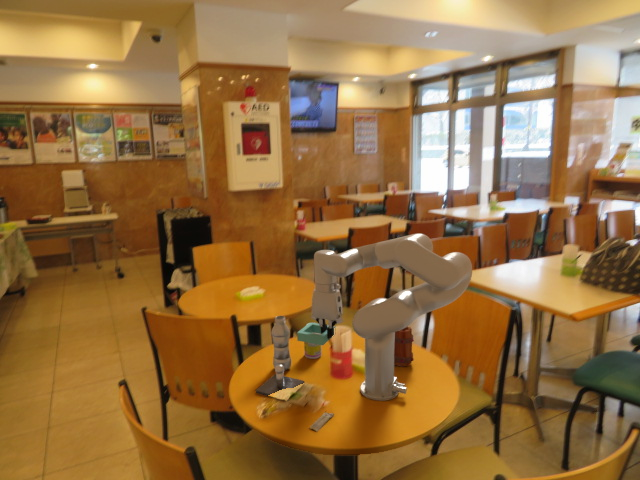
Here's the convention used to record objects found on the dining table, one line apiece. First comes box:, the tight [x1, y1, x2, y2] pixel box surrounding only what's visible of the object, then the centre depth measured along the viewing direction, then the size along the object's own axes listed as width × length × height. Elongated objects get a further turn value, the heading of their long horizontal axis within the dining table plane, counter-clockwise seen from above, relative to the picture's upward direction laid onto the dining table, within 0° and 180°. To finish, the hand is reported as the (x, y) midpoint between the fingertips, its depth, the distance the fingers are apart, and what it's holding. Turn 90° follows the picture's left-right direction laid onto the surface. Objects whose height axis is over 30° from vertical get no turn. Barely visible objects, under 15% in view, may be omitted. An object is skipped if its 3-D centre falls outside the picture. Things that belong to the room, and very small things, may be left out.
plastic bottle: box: [271, 315, 292, 371], centre depth 160 cm, size 6×7×20 cm
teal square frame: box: [296, 321, 336, 346], centre depth 154 cm, size 10×10×3 cm
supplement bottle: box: [303, 322, 322, 360], centre depth 170 cm, size 7×7×13 cm
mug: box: [394, 326, 415, 368], centre depth 163 cm, size 15×8×15 cm, turn 49°
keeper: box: [255, 364, 305, 397], centre depth 147 cm, size 12×12×9 cm
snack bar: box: [308, 410, 335, 433], centre depth 129 cm, size 10×2×3 cm
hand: (327, 336), depth 153 cm, fingers closed on teal square frame, 1 cm apart
